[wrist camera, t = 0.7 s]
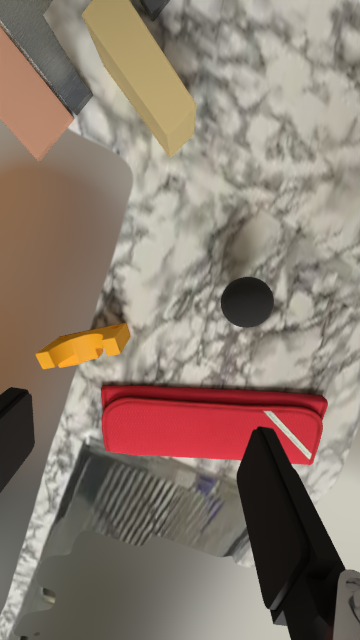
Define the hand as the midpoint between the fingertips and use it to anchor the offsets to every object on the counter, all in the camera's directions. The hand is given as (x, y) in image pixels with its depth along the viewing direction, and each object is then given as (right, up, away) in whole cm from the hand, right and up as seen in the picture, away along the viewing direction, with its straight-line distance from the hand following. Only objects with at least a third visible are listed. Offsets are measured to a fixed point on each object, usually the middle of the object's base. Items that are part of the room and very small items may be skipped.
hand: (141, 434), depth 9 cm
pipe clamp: (-13, +1, +28) cm, 31 cm away
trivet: (-19, +33, +17) cm, 42 cm away
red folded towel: (+7, -15, +33) cm, 37 cm away
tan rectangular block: (-2, +32, +17) cm, 36 cm away
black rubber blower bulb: (+10, +9, +25) cm, 28 cm away
